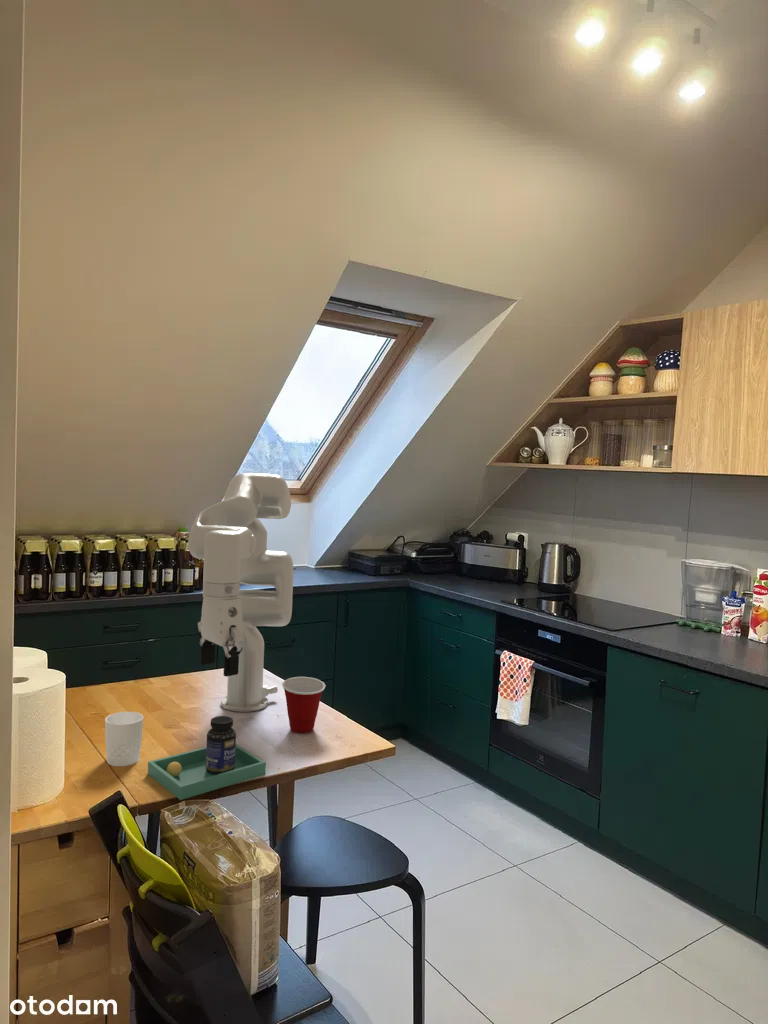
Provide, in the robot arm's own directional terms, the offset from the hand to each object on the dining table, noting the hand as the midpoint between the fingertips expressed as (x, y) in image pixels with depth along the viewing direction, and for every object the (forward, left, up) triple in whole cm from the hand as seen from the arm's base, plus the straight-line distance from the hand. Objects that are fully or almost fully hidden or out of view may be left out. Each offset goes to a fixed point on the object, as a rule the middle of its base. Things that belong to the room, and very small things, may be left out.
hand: (218, 669), depth 154 cm
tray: (+2, 0, -23) cm, 23 cm away
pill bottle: (-1, 0, -22) cm, 22 cm away
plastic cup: (-30, -10, -23) cm, 39 cm away
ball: (+8, -3, -22) cm, 24 cm away
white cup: (+13, -17, -23) cm, 31 cm away
